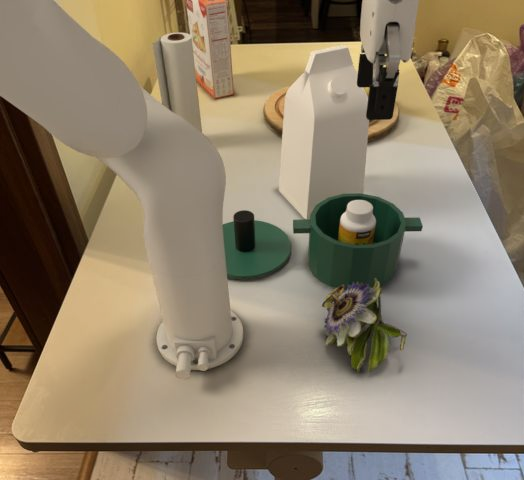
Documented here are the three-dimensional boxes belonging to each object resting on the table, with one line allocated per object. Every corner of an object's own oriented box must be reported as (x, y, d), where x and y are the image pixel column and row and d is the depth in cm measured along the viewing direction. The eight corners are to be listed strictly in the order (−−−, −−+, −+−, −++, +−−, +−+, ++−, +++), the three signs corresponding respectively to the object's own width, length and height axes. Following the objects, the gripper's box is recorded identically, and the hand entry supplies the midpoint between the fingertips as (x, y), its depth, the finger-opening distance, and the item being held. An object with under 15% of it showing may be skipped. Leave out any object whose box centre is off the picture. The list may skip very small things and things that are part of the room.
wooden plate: (269, 87, 135) (269, 52, 129) (393, 89, 132) (398, 54, 126) (257, 147, 114) (255, 109, 108) (404, 150, 111) (411, 111, 105)
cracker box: (194, 80, 139) (183, -12, 124) (214, 76, 141) (206, -16, 125) (212, 100, 131) (203, 3, 115) (234, 95, 132) (228, -1, 117)
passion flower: (329, 360, 79) (318, 283, 77) (401, 350, 78) (392, 271, 75) (329, 382, 69) (316, 293, 66) (413, 371, 67) (403, 280, 64)
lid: (292, 280, 84) (293, 244, 78) (196, 282, 84) (191, 246, 79) (289, 224, 94) (290, 189, 89) (204, 226, 95) (199, 190, 89)
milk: (331, 175, 105) (343, 32, 86) (362, 203, 98) (383, 54, 79) (278, 190, 102) (278, 44, 83) (306, 220, 95) (314, 69, 76)
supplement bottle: (350, 274, 84) (357, 221, 76) (329, 257, 87) (334, 204, 79) (376, 262, 86) (386, 208, 78) (354, 245, 89) (361, 192, 81)
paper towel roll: (204, 136, 118) (193, 30, 102) (201, 149, 114) (189, 41, 98) (173, 136, 118) (156, 31, 102) (169, 149, 114) (151, 42, 98)
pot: (420, 290, 82) (432, 246, 75) (293, 292, 82) (295, 248, 76) (404, 235, 91) (413, 192, 85) (290, 237, 92) (291, 194, 85)
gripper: (451, -47, 48) (415, 132, 61) (415, -82, 60) (391, 75, 73) (371, -45, 49) (351, 133, 61) (350, -80, 60) (338, 76, 73)
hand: (373, 101), depth 67 cm, fingers open, 9 cm apart
